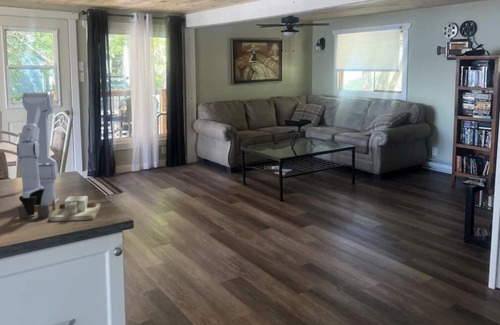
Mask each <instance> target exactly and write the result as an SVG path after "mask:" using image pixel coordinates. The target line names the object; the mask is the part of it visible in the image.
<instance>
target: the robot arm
mask: <svg viewBox="0 0 500 325" xmlns="http://www.w3.org/2000/svg"><path fill="white" fill-rule="evenodd" d="M21 101H22V105H23V107H24V109H25V111H26V124H25V125H24V126H22V130H21V137H20V142H19V143H17V145H16V156H17V158H18V159H17V160H18V164H20V172H21V174H20V175H21V182H22V183H21V184H22V190H21V191H22V195H20V196H19V197H18V199H19V201H20V202H21V204H23V205H24V207H25V210H26V213H27V215H31V216H34V215H35V213H36V212H35V205H46V204H47V203H48V202H49V201H50V200H51V199H52V198H55V204H56V203H57V202H58V201H59V199H60V198H59V197H56V185H55V183H56V182H55V181H56V180H57V179H58V177H59V167H58V162H57V161H56V159H55V158H53V157H52V156H50V147H49V146H50V143H49V142H50V141H49V124H48V123H49V121H48V120H49V115H51V114H53V110H54V105H53V95H52V93H51V92H50V91H41V92H40V91H36V92H34V91H33V92H32V91H24V92H23V94H22V97H21ZM49 206H52V203H51V204H50V205H49Z"/></svg>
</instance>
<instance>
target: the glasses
mask: <svg viewBox="0 0 500 325" xmlns="http://www.w3.org/2000/svg"><path fill="white" fill-rule="evenodd" d="M51 203H52V205H50V204H51ZM50 206H52V210H54V211H55V210H56V203H55V198H52V199H51V200H50V201H49V202H48V203H47V204H46V205H35V212H34V213H37V216H38V217H37V218H38V219H45V218H47V219H49V218H50ZM17 208H18V210H17V211H18V218H19V219H21V220H22V219H30V218H31V217H32V215H27V213H26V210H25V207H24V205H23V204H22V203H21V204H20V205H19V206H17Z"/></svg>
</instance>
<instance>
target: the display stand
mask: <svg viewBox="0 0 500 325" xmlns="http://www.w3.org/2000/svg"><path fill="white" fill-rule="evenodd" d="M100 209H101V203H100V202H99V203H98V199H93V200H89V198H88V195H77V196H74V195H73V196H72V195H71V196H68V197H67V198H66V199H65V200H64V201H63V200H62V201H61V202H60V203H59V206H58V207H57V208H55V209H54V212H53V213H52V214H51V215H49V221H50V222H59V221H60V222H61V221H85V220H87V221H89V220H90V221H91V220H95V218H96V216H97V214H98V213H99V211H100Z"/></svg>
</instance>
